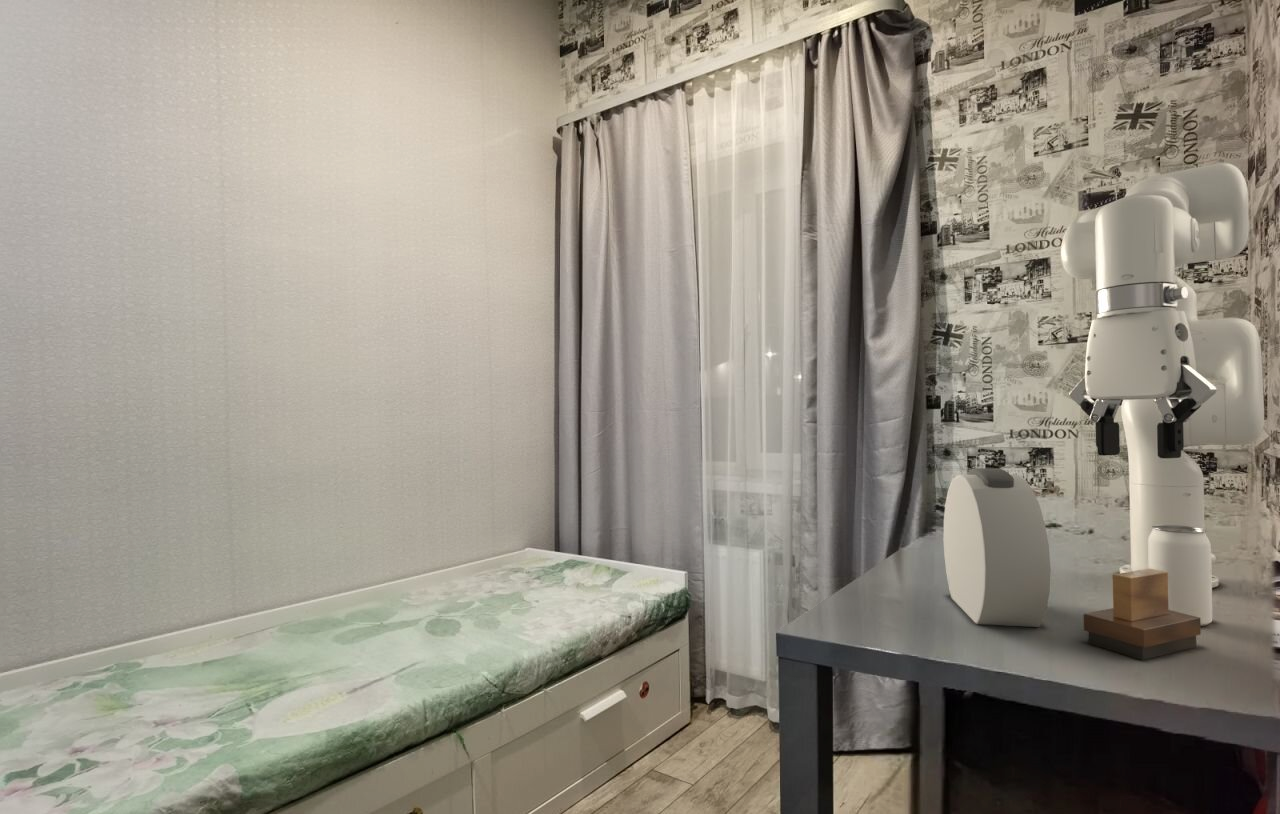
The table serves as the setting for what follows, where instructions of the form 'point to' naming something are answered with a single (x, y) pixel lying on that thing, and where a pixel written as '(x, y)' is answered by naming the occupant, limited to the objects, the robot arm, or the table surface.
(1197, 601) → the can
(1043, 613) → the alarm clock
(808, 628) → the table surface
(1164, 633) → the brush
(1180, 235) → the robot arm
